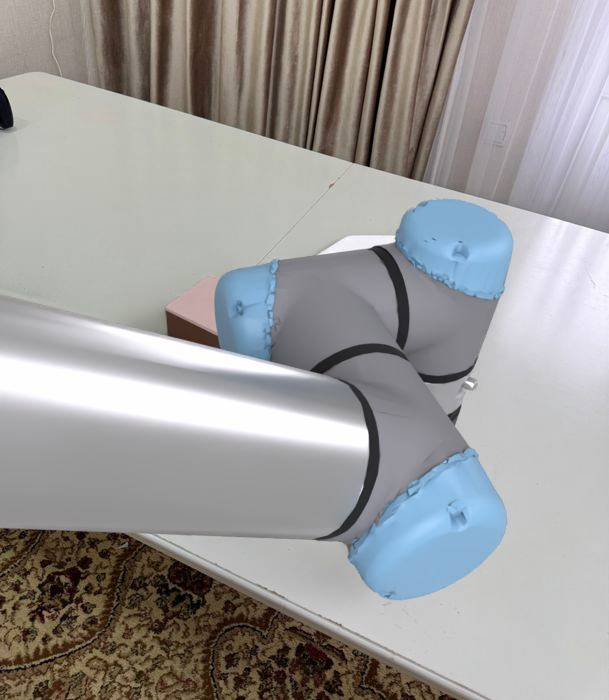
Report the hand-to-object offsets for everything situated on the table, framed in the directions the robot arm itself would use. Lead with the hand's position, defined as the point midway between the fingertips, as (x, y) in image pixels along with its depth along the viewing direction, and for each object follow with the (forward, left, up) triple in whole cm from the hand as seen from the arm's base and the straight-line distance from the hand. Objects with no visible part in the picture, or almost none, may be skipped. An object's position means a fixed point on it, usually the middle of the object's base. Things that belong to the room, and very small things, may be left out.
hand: (375, 544), depth 65 cm
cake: (+20, +36, -4) cm, 41 cm away
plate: (+48, +21, -4) cm, 52 cm away
